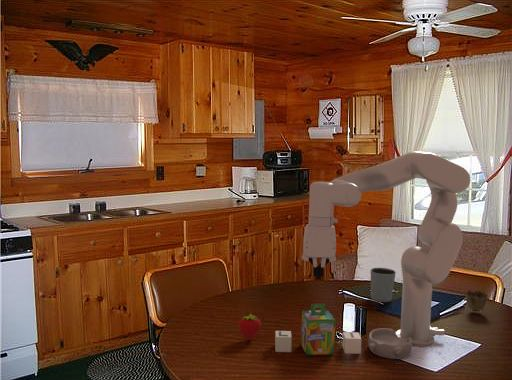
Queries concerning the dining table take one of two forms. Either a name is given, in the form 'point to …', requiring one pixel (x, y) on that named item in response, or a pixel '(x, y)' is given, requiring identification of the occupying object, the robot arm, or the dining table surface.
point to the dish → (389, 344)
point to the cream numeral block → (352, 342)
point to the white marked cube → (283, 341)
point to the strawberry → (249, 326)
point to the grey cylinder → (382, 284)
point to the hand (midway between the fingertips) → (317, 278)
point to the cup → (476, 301)
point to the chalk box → (318, 331)
